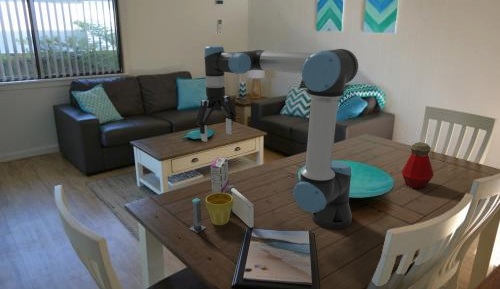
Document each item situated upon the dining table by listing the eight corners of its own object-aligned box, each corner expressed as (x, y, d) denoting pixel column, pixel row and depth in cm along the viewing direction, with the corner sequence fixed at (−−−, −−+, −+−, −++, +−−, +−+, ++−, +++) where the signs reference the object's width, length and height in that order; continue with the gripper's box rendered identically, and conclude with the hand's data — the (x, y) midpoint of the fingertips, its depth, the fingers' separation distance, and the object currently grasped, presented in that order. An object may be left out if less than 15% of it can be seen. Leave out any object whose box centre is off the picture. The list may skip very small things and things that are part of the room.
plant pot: (211, 230, 142) (210, 206, 139) (203, 217, 151) (202, 195, 148) (237, 224, 146) (237, 201, 143) (227, 212, 155) (227, 190, 152)
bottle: (422, 194, 171) (428, 151, 164) (393, 185, 180) (398, 144, 174) (437, 185, 180) (444, 144, 174) (410, 176, 190) (415, 137, 184)
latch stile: (206, 228, 143) (204, 199, 140) (197, 233, 140) (196, 203, 136) (197, 224, 146) (196, 196, 142) (189, 229, 143) (187, 200, 139)
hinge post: (239, 209, 157) (239, 191, 155) (232, 213, 154) (231, 194, 151) (231, 206, 160) (230, 188, 157) (224, 210, 157) (223, 191, 154)
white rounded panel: (227, 207, 157) (226, 185, 154) (233, 206, 158) (232, 184, 155) (248, 228, 142) (248, 204, 139) (254, 226, 143) (255, 202, 140)
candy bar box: (218, 191, 174) (217, 157, 169) (229, 192, 173) (228, 157, 168) (211, 202, 164) (209, 166, 159) (222, 203, 163) (221, 167, 158)
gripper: (231, 81, 164) (232, 129, 171) (184, 89, 147) (187, 142, 153) (243, 83, 159) (244, 132, 166) (196, 91, 142) (199, 146, 149)
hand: (217, 137), depth 160 cm, fingers open, 13 cm apart
